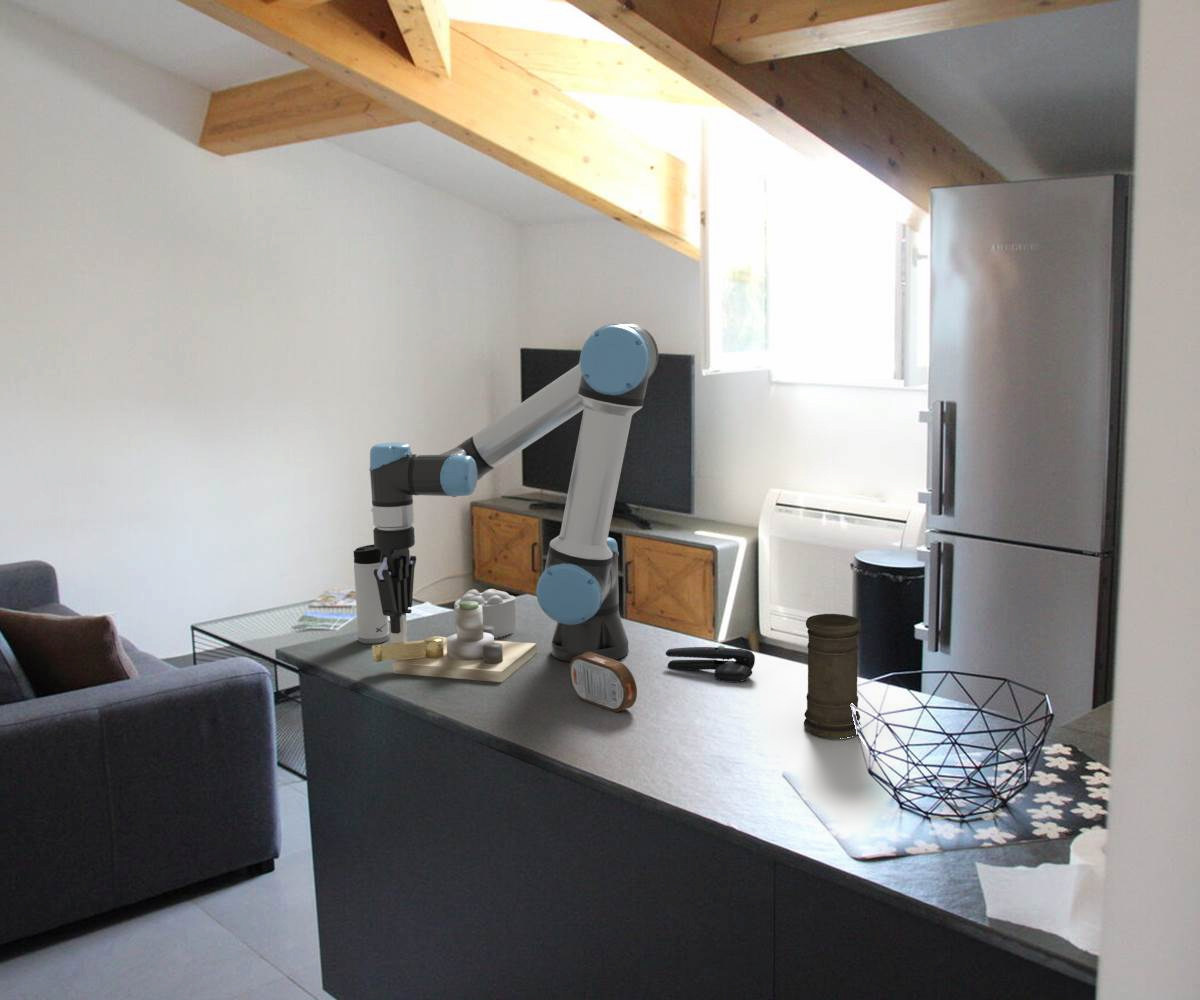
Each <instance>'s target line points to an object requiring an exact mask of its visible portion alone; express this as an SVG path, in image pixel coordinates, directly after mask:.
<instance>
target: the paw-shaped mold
mask: <svg viewBox="0 0 1200 1000" xmlns="http://www.w3.org/2000/svg"><path fill="white" fill-rule="evenodd" d="M465 601H475V602H478V605H481V606H482V614H483V626H492V627H494V638H496V639H499V638H498V637H500V638H503V637H502V636H504V637H506V636H505V635H507V636H509V635H508V634H510V635H512V634H511V633H513V634H515V633H517V632H518V620H517V618H518V616H517V614H518V613H517V598H516V596H515V595H511V594H509V593H508V592H506V591H503V590H497V589H495V588H489V589H486V590H484V591H483V592H480V591H478V590H477V589H470V590H468V591H467V592H465V594H464V595H463V596H461V597H460V598H459V599H456V600H455V602H454V604H453V605H454V607H453V609H454V627H455V628H454V631H455V632H454V634H457V626H456V607H458V606H459V604H460V603H461V602H465ZM516 631H517V632H516ZM514 632H515V633H514Z"/></svg>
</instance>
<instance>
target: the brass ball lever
mask: <svg viewBox="0 0 1200 1000" xmlns="http://www.w3.org/2000/svg"><path fill="white" fill-rule="evenodd" d="M441 637H442V636H438V637H434V636H429V637H426V638H424V639H422V640H412V641H407V642H400V643H391V642H390V643H377V644H371V654H372V661H373V662H375V663H378V662H382V661H383V662H384V661H393V660H394V661H396V660H398V659H406V658H415V657H428V658H437V657H441V656H443V655H444V647H443V638H441Z"/></svg>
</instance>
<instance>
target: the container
mask: <svg viewBox="0 0 1200 1000" xmlns="http://www.w3.org/2000/svg"><path fill="white" fill-rule="evenodd" d="M805 626H806V628H807V631H806V632H807V635H808V643H807V645H806V647H807V693H806V709H805V712H804V714H803V715H804V717H805V719H804V721H803V727H804V730H805V732H806V733H808V734H809V735H811V736H814V737H817V738H821V739H825V738H826V740H834V739H840V738H841V739H840V740H843V739H842V738H847V737H852V736H855V737H856V736H858V735H856V729H855V725H854V721H853V717H852V710H851V707H850V704H851V703H853V704H854V705H855V706H856V707H858V708H859V706H858V705H859V704H858V703H859V695H858V667H859V666H858V664H859V661H858V660H859V659H858V655H859V654H858V651H859V645H858V638H859V635H860V632H859V630H860V628H861V626H862V624H861V621H860V619H859V618H857V617H854V616H851V615H849V614H848V615H847V614H840V613H822V614H821V613H820V614H815V615H812V616H809V617H807V619H806V620H805ZM856 716H857V720H858V721H859V724H860V725H861V722H860V719H861V716H860V712H859V711H856ZM861 726H862V725H861ZM852 738H853V737H852Z"/></svg>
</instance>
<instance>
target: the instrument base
mask: <svg viewBox="0 0 1200 1000" xmlns="http://www.w3.org/2000/svg"><path fill="white" fill-rule="evenodd" d="M456 626H457V634H455V633H454V634H451V635H449V636H440V637H441V638H443V647H444V655H443V656H441V657H437V658H428V657H415V658H406V659H396V660H394V661H393V662H392V664H391V665H392V666H391V667H392V674H396V675H397V674H399V675H409V676H412V675H413V676H421V677H422V676H424V677H435V678H447V679H459V680H469V681H470V680H471V681H483V682H484V681H485V682H496V683H503V682H505V681H506V679H508V678H509V677H510V676H512V674H514V673H515V672H516V671H517V670H518V669H520V668H522V666H524V665H525V664H526V663H527V662H529V660H530V659H532V658H533V657H534V656H535V655H537V654H538V651H537V650H538V649H537V646H538V645H537V643H535V642H520V641H509V640H507V641H506V640H495V639H494V627H492V626H483V614H482V606H481V605H478V602H475V601H465V602H461V603H460V604H459V606H458V607H456ZM433 637H439V636H435V635H434V636H433Z"/></svg>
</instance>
